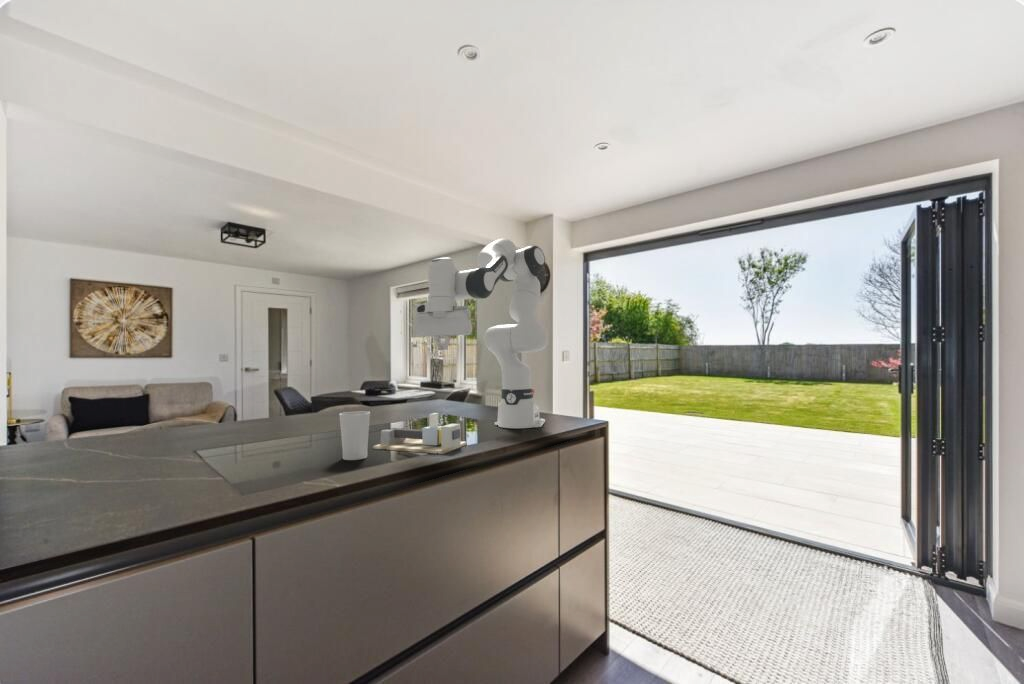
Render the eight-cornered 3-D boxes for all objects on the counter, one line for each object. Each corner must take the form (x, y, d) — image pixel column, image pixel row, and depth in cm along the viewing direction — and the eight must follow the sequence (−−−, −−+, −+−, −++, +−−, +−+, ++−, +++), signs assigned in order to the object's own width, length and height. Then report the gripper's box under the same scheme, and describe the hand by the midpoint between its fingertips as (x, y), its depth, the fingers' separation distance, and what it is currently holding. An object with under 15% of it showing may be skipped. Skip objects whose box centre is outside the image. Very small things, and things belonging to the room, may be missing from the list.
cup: (375, 454, 125) (374, 411, 125) (362, 460, 117) (362, 415, 117) (347, 454, 125) (347, 411, 126) (333, 460, 117) (333, 415, 118)
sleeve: (422, 444, 131) (422, 414, 132) (431, 441, 136) (431, 412, 136) (437, 445, 129) (436, 415, 130) (445, 442, 134) (445, 412, 134)
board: (373, 448, 132) (373, 445, 132) (401, 439, 145) (401, 437, 145) (443, 454, 123) (443, 451, 123) (467, 444, 136) (466, 441, 136)
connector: (441, 447, 128) (441, 426, 128) (451, 443, 134) (451, 423, 134) (451, 448, 127) (451, 427, 127) (462, 444, 132) (461, 424, 133)
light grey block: (380, 444, 135) (380, 430, 135) (397, 439, 143) (397, 426, 143) (388, 444, 134) (388, 431, 134) (405, 439, 141) (405, 427, 142)
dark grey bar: (388, 439, 137) (388, 427, 137) (395, 437, 140) (395, 425, 140) (444, 443, 129) (444, 430, 129) (451, 441, 133) (451, 428, 133)
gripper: (475, 306, 143) (475, 349, 143) (421, 309, 151) (421, 350, 150) (465, 304, 137) (466, 349, 137) (410, 308, 145) (410, 350, 145)
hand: (442, 350), depth 144 cm, fingers closed
